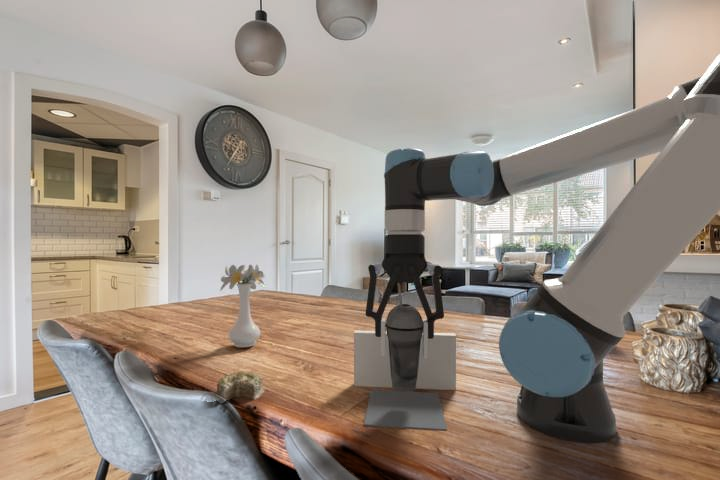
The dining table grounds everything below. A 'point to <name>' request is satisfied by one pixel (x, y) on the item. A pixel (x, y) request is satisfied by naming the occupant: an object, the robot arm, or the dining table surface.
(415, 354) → the beverage cup
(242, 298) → the flower vase
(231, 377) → the cake
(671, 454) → the dining table surface
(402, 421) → the mat
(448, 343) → the screen
